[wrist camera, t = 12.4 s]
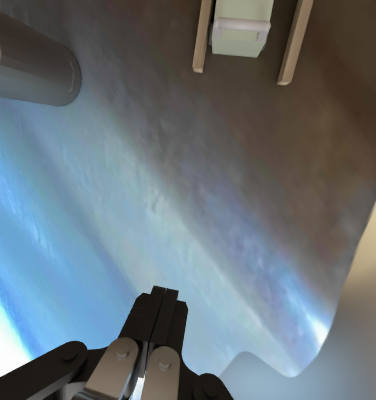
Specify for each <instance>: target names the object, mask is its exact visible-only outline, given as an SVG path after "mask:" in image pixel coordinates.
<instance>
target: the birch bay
mask: <svg viewBox="0 0 376 400" xmlns="http://www.w3.org/2000/svg"><path fill="white" fill-rule="evenodd" d="M213 3H214V0H202V4H201V11H200V18H199V25H198V32H197V39H196V46H195V52H194V59H193V66H192V67H193V69H194V72H199V73H202V72H203V66H204V60H205V53H206V47H207V41H208V35H209V28H210V22H211V16H212V9H213ZM312 4H313V0H298V2H297V6H296V10H295V14H294V18H293V22H292V26H291V29H290V33H289V37H288V41H287V45H286V49H285V53H284V57H283V61H282V65H281V69H280V73H279V76H278V80H277V84H278V85H284V86H285V85H286V84H288V83H289V82H291V81H292V77H293V73H294V70H295V66H296V62H297V59H298V55H299V51H300V48H301V44H302V40H303V37H304V33H305V29H306V26H307V22H308V18H309V15H310V11H311V7H312Z"/></svg>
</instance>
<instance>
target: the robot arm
mask: <svg viewBox="0 0 376 400" xmlns="http://www.w3.org/2000/svg"><path fill="white" fill-rule="evenodd" d="M80 86H81V72H80V68H79V65H78V63H77V61H76V59H75V57H74V56H73V54H72V53H71V52H70V51H69V50H68V49H67V48H66V47H64V46H63V45H61V44H59V43H57V42H56V41H54V40H52V39H50V38H48V37H47V36H45V35H43V34H41V33H40V32H38V31H36V30H34V29H32V28H30V27H29V26H27V25H25V24H23V23H21V22H20V21H18V20H16V19H14V18H12V17H10V16H9V15H7V14H5V13H3V12H1V11H0V97H1V98H7V99H14V100H20V101H27V102H33V103H39V104H46V105H53V106H63V105H67V104H69V103H70V102H72V101H73V100H74V99H75V98H76V96H77V94H78V92H79V90H80ZM178 293H179V291H178V290H173V289H168V288H167V289H166V288H164V287H159V286H153V289H152V291H151V294H147V293H142V294H141V295H140V296H139V297H138V298H136V301H135V303H134V305H133V307H132V309H131V311H130V313H129V315H128V317H127V320H126V322H125V324H124V326H123V328H122V330H121V332H120V334H119V336H118V338H117V339H116V340H114V341H113V342H112V343H111V344H110V345H109V346H107V347H105V348H101V349H92V350H87V347H86V345H85V344H84V343H82V342H80V341H70V342H67V343H65V344H63V345H61V346H59V347H57V348H55V349H53V350H51V351H49V352H47V353H46V354H44V355H42V356H40V357H38V358H36V359H34V360H32V361H30V362H28V363H26V364H25V365H23V366H21V367H19V368H17V369H15V370H13V371H11V372H9V373H7V374H5V375H3V376H2V377H0V400H131V399H132V396H133V391H134V389H135V386H136V383H137V380H138V377H140V378H144V374H145V381H144V386H143V390H142V395H141V400H234V399H233V398H232V396H231V394H230V393H229V391H228V390H227V388H226V387H225V385H224V384H223V382H222V381H221V380H220V379H219V378H218V377H217V376H215V375H213V374H210V373H204V374H201V375H200V376H199V375H197V374H196V373H194V372H192V371H191V370H190V369H189V368H188V367H187V366H186V365H185V363H184V362H183V359H182V346H183V339H184V333H185V327H186V320H187V314H188V308H187V305H186V302H183V301H179V300H177V298H178ZM145 371H146V373H145Z"/></svg>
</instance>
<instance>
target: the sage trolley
mask: <svg viewBox="0 0 376 400" xmlns="http://www.w3.org/2000/svg"><path fill="white" fill-rule="evenodd" d="M273 1H274V0H217V1H216V8H215V16H214V24H211V26H210V34H209V45H211V46H212V52H213V53H214V54H225V55H236V56H246V57H258V55H259V53H260V51H261V50H264V49H265V46H266V43H267V39H268V33H269V30H270V27H271V24H270V16H271V11H272V6H273Z"/></svg>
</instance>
